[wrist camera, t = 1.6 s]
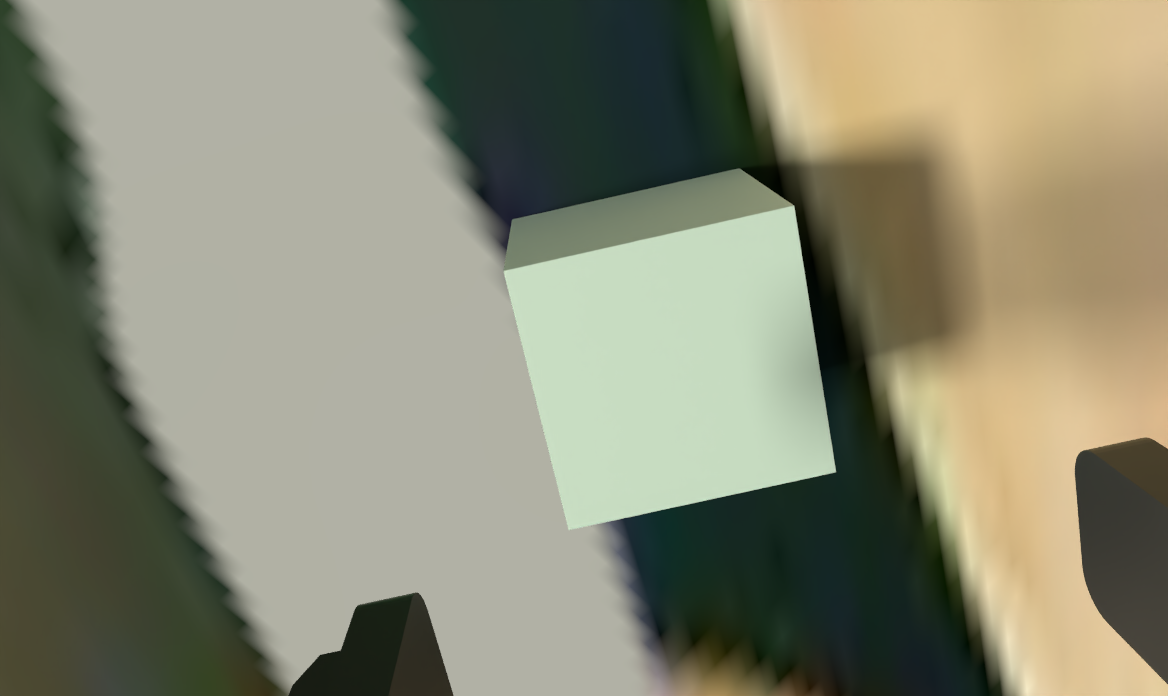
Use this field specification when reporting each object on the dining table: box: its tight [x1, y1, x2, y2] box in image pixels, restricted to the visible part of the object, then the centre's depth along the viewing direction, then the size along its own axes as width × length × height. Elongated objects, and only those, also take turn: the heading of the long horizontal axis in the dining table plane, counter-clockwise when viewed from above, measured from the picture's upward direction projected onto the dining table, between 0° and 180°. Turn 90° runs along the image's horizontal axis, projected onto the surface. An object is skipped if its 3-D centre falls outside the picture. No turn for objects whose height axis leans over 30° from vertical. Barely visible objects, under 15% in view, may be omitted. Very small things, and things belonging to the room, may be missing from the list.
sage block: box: [504, 168, 836, 530], centre depth 22 cm, size 6×6×6 cm
